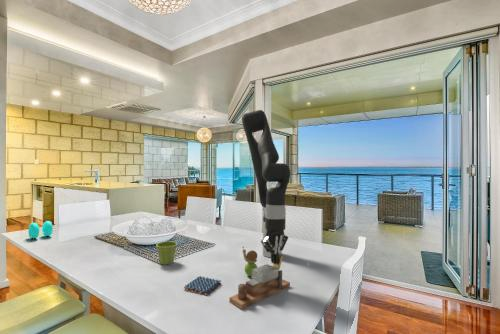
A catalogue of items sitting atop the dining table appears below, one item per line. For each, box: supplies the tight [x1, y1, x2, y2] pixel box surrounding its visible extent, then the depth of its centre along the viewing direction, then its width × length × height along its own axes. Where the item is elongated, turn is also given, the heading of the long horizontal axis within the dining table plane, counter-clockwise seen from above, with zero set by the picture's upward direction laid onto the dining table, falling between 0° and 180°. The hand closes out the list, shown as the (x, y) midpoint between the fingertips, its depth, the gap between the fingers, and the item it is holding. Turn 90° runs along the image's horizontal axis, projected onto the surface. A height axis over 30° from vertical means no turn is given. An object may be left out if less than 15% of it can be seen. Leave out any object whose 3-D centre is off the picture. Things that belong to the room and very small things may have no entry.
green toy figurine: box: [242, 246, 258, 277], centre depth 103 cm, size 5×6×12 cm
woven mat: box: [183, 275, 222, 296], centre depth 92 cm, size 10×11×2 cm
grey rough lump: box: [250, 263, 278, 283], centre depth 89 cm, size 8×6×3 cm
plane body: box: [228, 269, 291, 310], centre depth 88 cm, size 24×6×7 cm, turn 132°
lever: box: [272, 255, 284, 274], centre depth 93 cm, size 1×4×6 cm, turn 42°
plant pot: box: [155, 240, 178, 266], centre depth 116 cm, size 9×9×9 cm
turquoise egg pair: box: [28, 220, 54, 239], centre depth 155 cm, size 10×10×10 cm
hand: (274, 263), depth 93 cm, fingers closed
